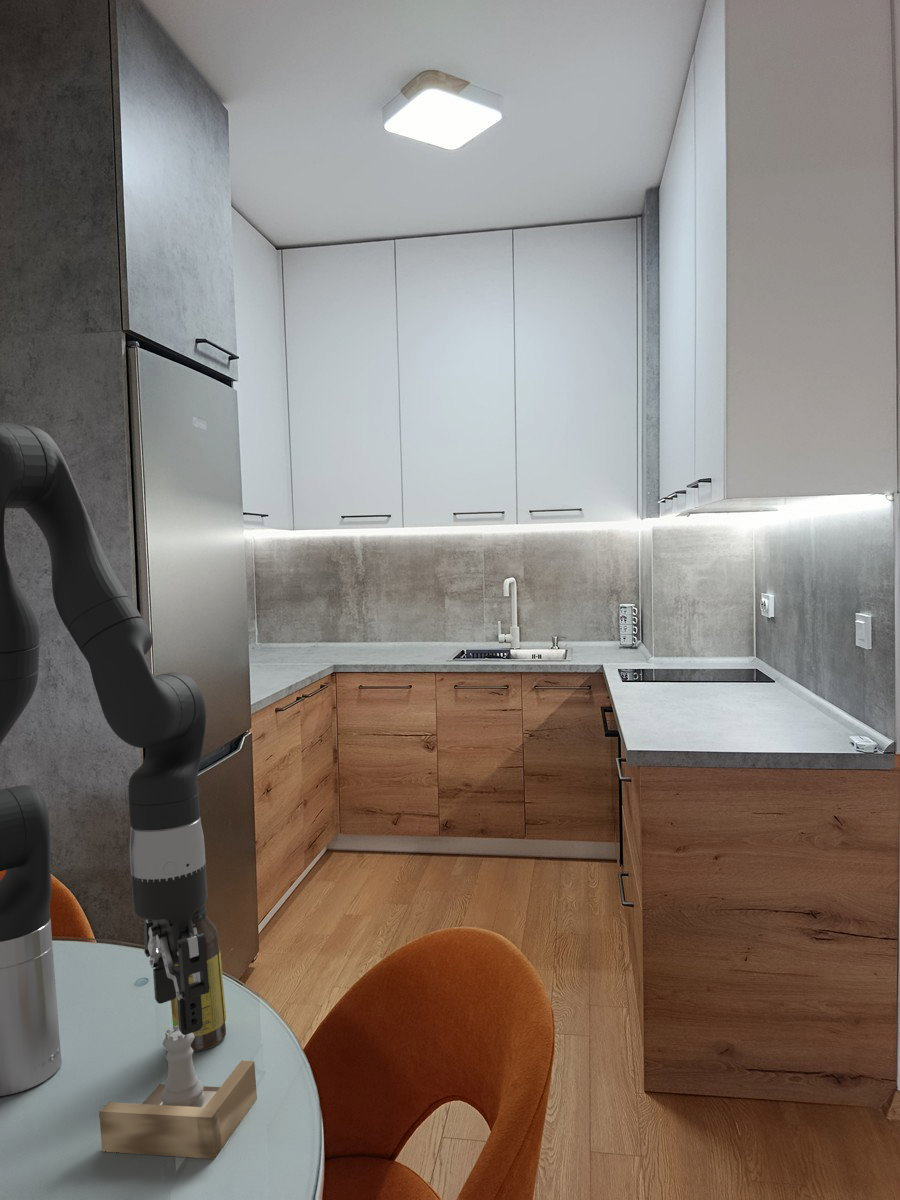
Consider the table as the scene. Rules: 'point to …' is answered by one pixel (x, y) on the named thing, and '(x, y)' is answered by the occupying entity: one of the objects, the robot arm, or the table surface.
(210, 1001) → the sauce bottle
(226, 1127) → the wooden tray
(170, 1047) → the rook chess piece
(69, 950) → the table surface
